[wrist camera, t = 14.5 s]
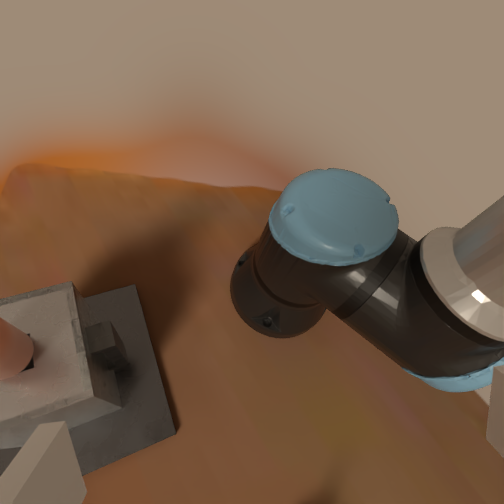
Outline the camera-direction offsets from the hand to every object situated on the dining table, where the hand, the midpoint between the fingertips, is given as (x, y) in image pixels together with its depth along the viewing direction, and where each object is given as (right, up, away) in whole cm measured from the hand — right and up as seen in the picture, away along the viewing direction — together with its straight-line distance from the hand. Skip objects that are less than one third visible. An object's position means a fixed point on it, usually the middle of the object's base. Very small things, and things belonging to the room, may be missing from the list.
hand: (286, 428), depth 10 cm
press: (-23, -10, +30) cm, 39 cm away
